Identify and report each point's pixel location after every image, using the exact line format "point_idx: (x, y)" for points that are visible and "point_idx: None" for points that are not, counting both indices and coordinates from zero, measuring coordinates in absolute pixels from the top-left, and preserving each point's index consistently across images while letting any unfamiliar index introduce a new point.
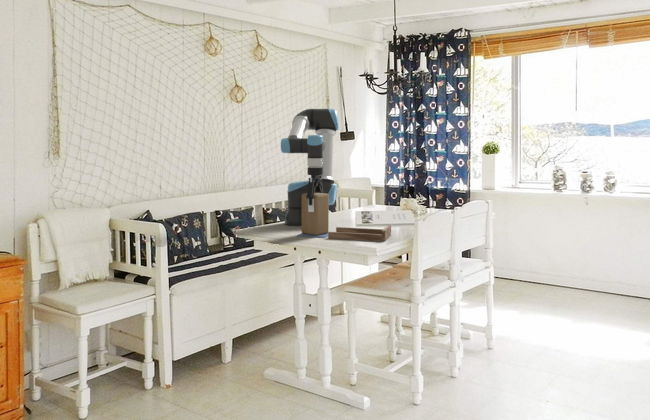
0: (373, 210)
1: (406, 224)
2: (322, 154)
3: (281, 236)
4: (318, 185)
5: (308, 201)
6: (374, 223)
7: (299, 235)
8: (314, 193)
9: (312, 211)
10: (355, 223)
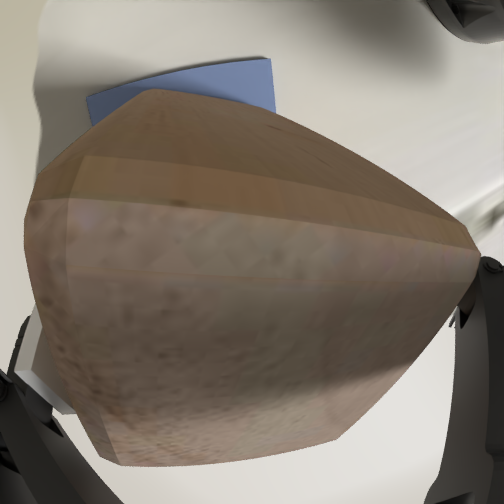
0: None
1: (455, 310)
2: None
3: (47, 24)
4: (440, 486)
5: (26, 337)
6: (479, 244)
7: (89, 110)
8: (282, 403)
9: None
10: (485, 196)
